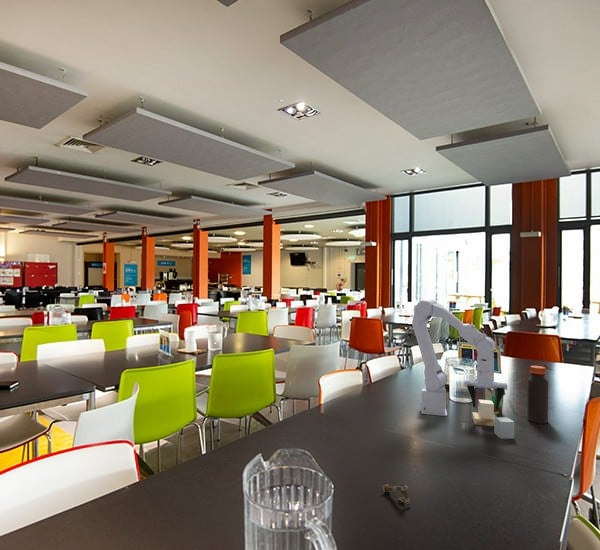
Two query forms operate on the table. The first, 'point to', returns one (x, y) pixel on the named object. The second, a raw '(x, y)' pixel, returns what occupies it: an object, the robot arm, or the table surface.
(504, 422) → the slate block
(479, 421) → the oak slab
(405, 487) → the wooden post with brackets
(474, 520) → the table surface
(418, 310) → the robot arm
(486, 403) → the cream block
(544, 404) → the bottle
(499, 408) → the food container
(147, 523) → the table surface
